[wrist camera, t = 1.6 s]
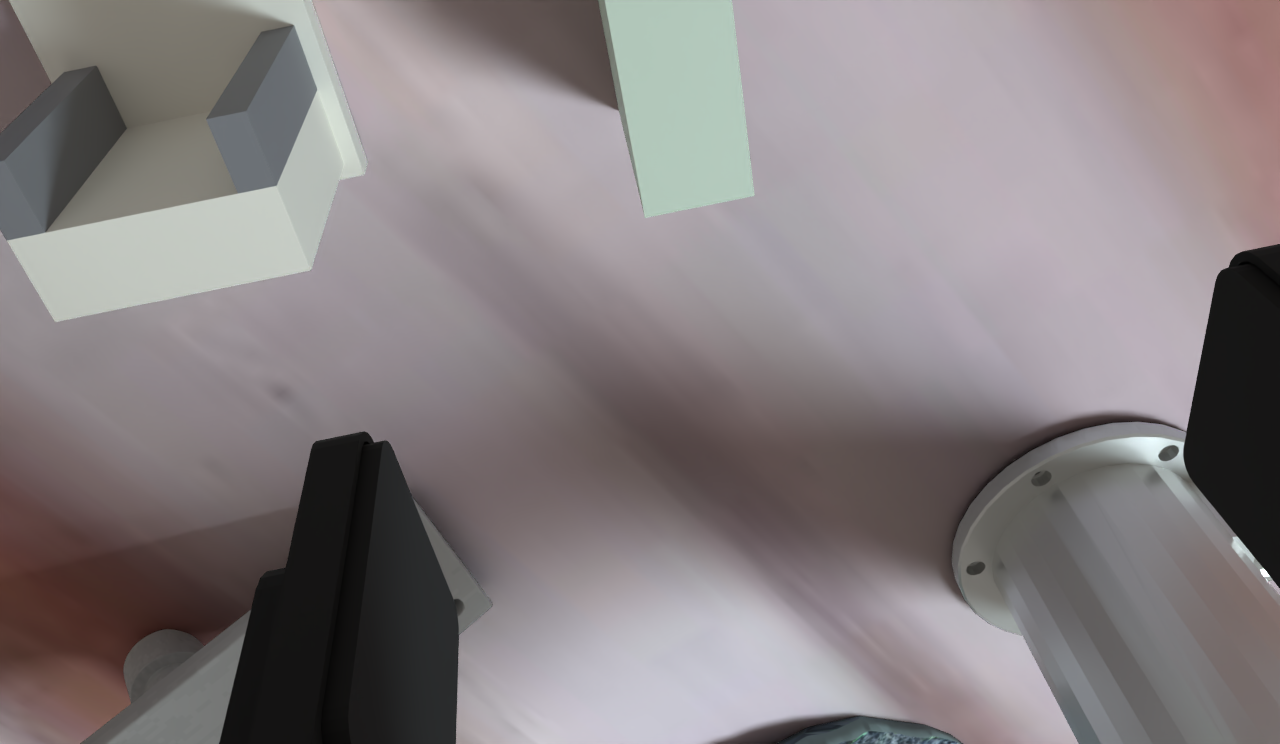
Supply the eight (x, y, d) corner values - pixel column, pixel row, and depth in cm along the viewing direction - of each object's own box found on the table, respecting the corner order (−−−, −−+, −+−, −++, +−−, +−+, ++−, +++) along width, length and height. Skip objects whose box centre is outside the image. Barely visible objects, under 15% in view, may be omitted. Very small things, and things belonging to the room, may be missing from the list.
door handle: (350, 432, 48) (-55, 737, 43) (414, 498, 42) (-52, 869, 36) (524, 659, 58) (212, 934, 52) (598, 742, 51) (252, 1065, 46)
